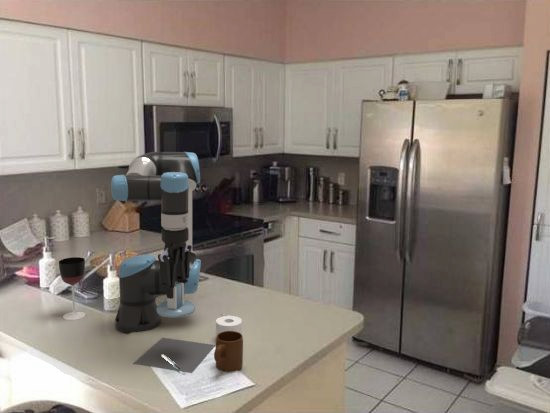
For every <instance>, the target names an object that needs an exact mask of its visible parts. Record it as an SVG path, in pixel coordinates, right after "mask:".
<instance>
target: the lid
mask: <svg viewBox="0 0 550 413" xmlns="http://www.w3.org/2000/svg"><path fill="white" fill-rule="evenodd" d="M174 287H177V309H171V308H167V300H166V301H162V302H160V303H159V304H157V313H158V314H159V315H161V317H164V318H170V319H171V318H172V319H173V318H174V319H177V318H178V319H179V318H183V317H187V316H190V315H192V314H193V313H195V311H196V304H195V303H193V302H192V301H190V300H185V299H184V305H181V283H179V282H175V286H174Z"/></svg>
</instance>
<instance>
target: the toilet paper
mask: <svg viewBox="0 0 550 413" xmlns="http://www.w3.org/2000/svg"><path fill="white" fill-rule="evenodd" d="M220 315H221V316H220V317H218V318H216V320H215V338H216V337H217V335H218V334H219V333H221V332H224V331H235V332H239V333H241V334H242V335H243V333H242V332H243V319H242V318H240V317H239V316H236V315H235V316H234V315H230V314H229V315H228V314H223V313H221V314H220Z"/></svg>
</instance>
